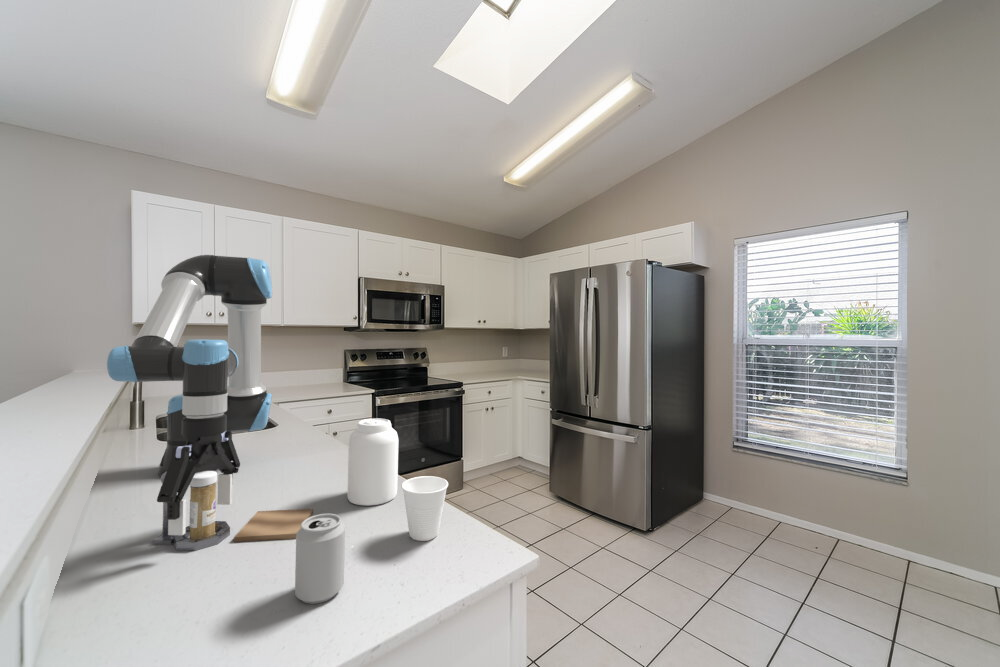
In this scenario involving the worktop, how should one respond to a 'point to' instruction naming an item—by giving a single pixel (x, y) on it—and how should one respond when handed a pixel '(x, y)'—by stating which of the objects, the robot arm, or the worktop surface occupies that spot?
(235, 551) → the worktop surface
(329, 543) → the can
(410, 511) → the cup
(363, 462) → the white jar
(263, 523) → the coaster
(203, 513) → the sprinkles bottle
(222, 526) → the ring stand
